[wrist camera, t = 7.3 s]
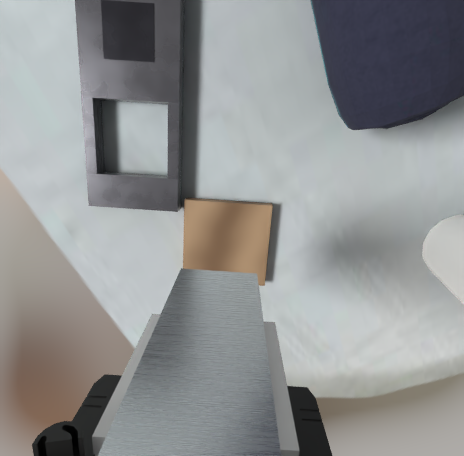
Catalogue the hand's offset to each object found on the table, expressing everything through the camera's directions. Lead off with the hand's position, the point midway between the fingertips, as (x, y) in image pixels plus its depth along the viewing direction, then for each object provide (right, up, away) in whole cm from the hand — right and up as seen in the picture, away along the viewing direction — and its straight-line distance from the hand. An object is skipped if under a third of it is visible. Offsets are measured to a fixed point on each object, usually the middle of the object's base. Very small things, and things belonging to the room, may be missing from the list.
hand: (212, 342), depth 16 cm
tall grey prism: (0, +1, +4) cm, 4 cm away
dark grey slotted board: (-7, +17, +12) cm, 21 cm away
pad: (0, +4, +15) cm, 15 cm away
